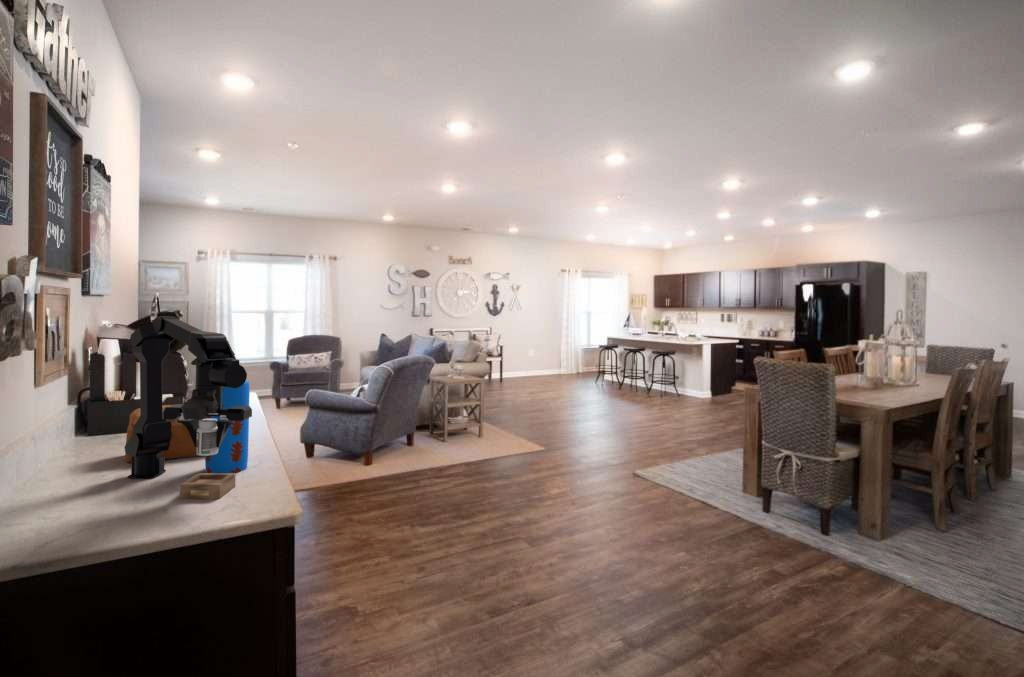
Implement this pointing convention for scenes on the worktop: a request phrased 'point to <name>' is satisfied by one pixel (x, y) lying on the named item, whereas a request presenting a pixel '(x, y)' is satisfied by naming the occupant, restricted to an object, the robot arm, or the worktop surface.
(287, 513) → the worktop surface
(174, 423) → the bread
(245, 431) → the thermos
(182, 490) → the wooden tray
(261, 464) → the worktop surface
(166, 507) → the worktop surface
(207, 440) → the pill bottle
